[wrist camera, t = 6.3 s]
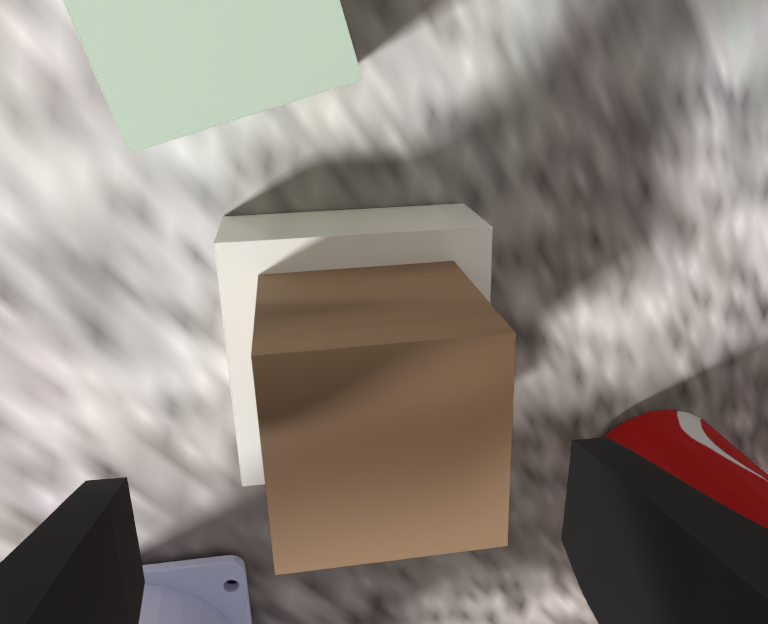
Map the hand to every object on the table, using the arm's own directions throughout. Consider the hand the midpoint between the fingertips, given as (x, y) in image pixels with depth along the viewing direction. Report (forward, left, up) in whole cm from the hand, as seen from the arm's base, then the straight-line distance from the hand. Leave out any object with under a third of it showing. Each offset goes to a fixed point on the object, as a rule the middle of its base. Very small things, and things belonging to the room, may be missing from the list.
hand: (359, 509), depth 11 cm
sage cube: (+8, +2, -11) cm, 14 cm away
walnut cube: (-1, -1, -7) cm, 7 cm away
